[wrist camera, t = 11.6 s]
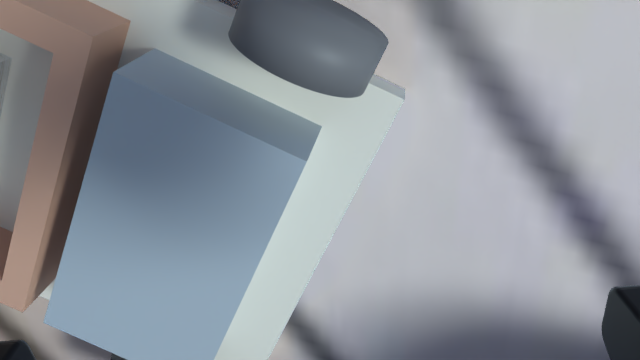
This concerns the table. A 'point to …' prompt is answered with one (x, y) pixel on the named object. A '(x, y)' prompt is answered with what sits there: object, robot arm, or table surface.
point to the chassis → (181, 164)
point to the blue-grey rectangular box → (4, 76)
